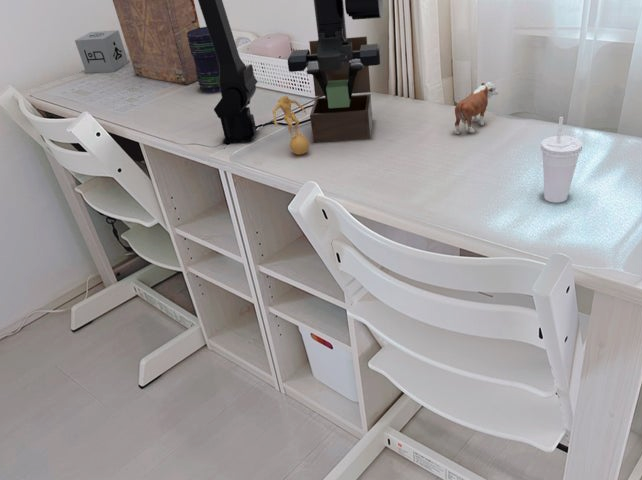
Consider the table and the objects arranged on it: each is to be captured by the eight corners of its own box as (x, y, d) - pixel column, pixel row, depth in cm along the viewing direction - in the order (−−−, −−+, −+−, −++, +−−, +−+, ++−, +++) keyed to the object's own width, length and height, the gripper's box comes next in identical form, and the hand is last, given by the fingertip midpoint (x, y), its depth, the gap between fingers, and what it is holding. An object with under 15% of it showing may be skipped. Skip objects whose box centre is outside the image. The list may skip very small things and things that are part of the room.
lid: (366, 36, 130) (366, 36, 130) (309, 41, 131) (309, 41, 132) (370, 92, 135) (370, 91, 135) (315, 96, 136) (315, 95, 137)
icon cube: (86, 73, 197) (74, 40, 191) (101, 63, 204) (90, 32, 198) (114, 71, 195) (103, 38, 189) (128, 62, 203) (118, 30, 197)
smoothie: (530, 191, 106) (537, 112, 97) (567, 186, 106) (577, 107, 97) (543, 208, 101) (551, 126, 92) (581, 203, 101) (593, 121, 92)
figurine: (292, 163, 125) (282, 105, 118) (273, 156, 128) (262, 100, 121) (321, 148, 129) (313, 92, 122) (302, 142, 133) (294, 87, 126)
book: (135, 75, 189) (101, -34, 171) (159, 66, 194) (129, -40, 176) (187, 85, 175) (157, -32, 157) (211, 75, 181) (184, -39, 163)
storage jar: (218, 79, 176) (203, 13, 166) (242, 83, 171) (228, 14, 160) (192, 91, 170) (175, 22, 159) (217, 95, 165) (200, 24, 154)
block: (330, 101, 132) (328, 80, 130) (350, 99, 132) (348, 79, 129) (328, 108, 129) (326, 87, 126) (349, 107, 128) (347, 86, 126)
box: (370, 139, 131) (368, 110, 127) (313, 142, 132) (309, 114, 129) (372, 121, 139) (370, 93, 135) (319, 124, 141) (315, 97, 137)
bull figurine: (500, 118, 133) (502, 80, 128) (464, 139, 126) (465, 100, 121) (483, 114, 136) (484, 77, 131) (447, 135, 128) (447, 96, 123)
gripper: (277, 35, 115) (290, 116, 124) (376, 27, 113) (381, 110, 122) (286, 21, 124) (298, 97, 133) (378, 13, 122) (383, 91, 131)
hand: (339, 99), depth 130 cm, fingers closed on block, 4 cm apart
